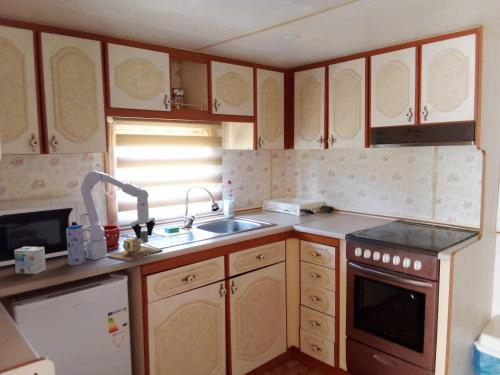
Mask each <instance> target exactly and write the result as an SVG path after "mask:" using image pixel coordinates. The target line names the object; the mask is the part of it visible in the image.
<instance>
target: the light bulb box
mask: <svg viewBox="0 0 500 375" xmlns="http://www.w3.org/2000/svg"><path fill="white" fill-rule="evenodd" d="M13 252H14V262H15V263H14V266H15V273H16V274H26V275H27V274H29V275H37V274H39V273H42V272H43V271H46V270H47V267H46V253H45V246H22V247H19V248H17V249H14V250H13Z"/></svg>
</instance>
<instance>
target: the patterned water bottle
mask: <svg viewBox="0 0 500 375" xmlns="http://www.w3.org/2000/svg"><path fill="white" fill-rule="evenodd" d="M65 234H66V246H67V257H68V258H67V259H68V261H67V264H68V265H71V266H74V265H75V266H77V265H81V264H84V263H86V262H87V261H86V249H85V238H84V237H85V236H84V228H83V226H82V225H80V224H78V222H77V221H72V222H71V224H70V225H68V227H66V231H65Z"/></svg>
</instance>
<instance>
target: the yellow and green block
mask: <svg viewBox="0 0 500 375" xmlns="http://www.w3.org/2000/svg"><path fill="white" fill-rule="evenodd" d="M140 240H141V245H142V244H147V243H149V235H148V231H147V230H141V238H140ZM128 247H129V244H128V243H124V242H123V243H122V248H123V249H124V248H128Z"/></svg>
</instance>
